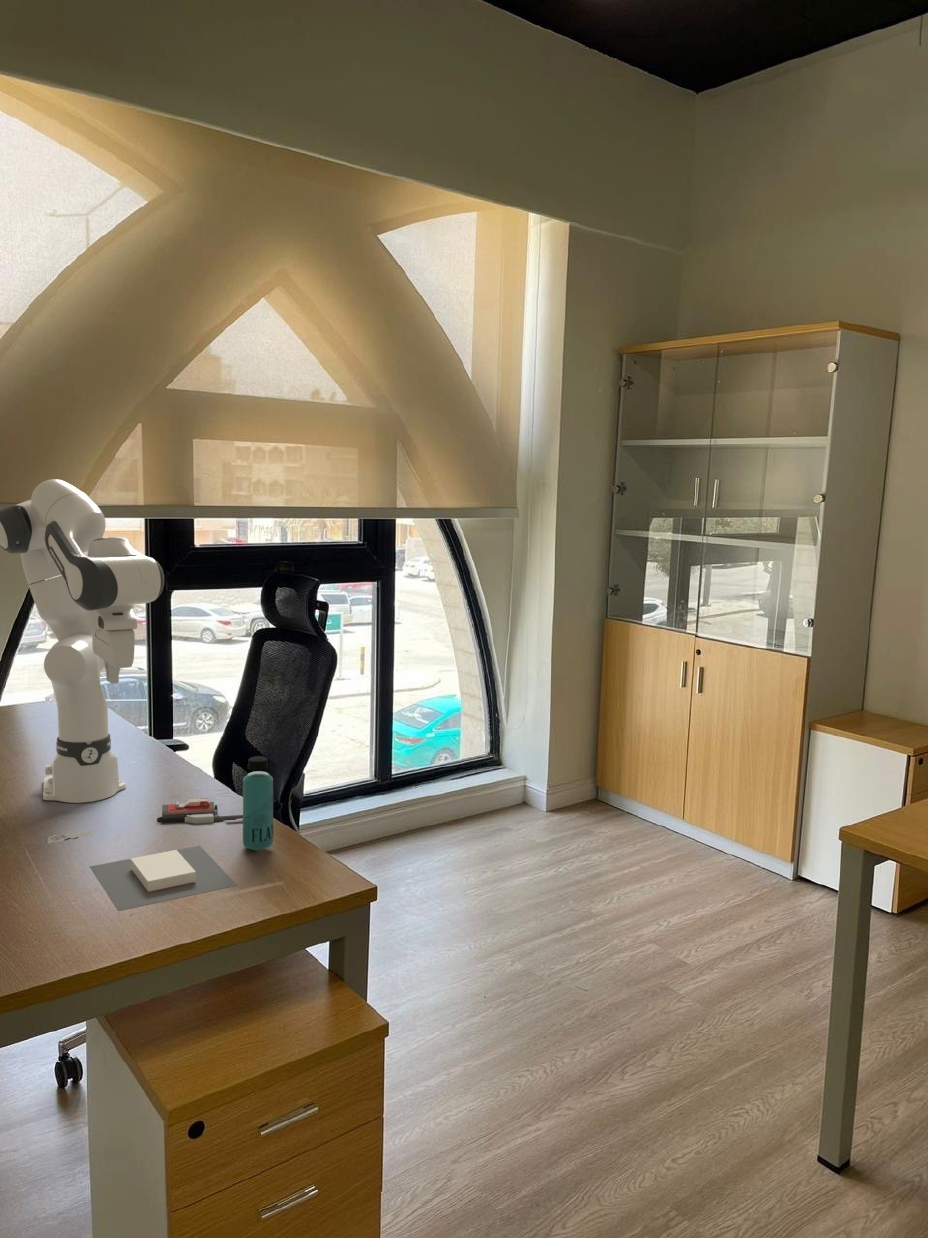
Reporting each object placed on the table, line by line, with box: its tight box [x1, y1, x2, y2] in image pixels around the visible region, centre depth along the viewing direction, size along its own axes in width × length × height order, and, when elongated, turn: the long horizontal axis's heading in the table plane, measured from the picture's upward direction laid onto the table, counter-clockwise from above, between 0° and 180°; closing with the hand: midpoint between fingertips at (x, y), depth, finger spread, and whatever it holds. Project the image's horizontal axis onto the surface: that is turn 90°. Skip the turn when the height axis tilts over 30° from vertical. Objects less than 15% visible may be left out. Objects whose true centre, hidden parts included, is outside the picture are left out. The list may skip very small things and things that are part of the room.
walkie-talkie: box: [156, 797, 243, 825], centre depth 219 cm, size 9×4×20 cm
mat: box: [89, 845, 238, 912], centre depth 187 cm, size 22×22×1 cm
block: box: [130, 849, 196, 892], centre depth 187 cm, size 2×9×12 cm
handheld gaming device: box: [47, 831, 94, 844], centre depth 201 cm, size 9×1×15 cm
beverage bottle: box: [242, 755, 275, 850], centre depth 201 cm, size 6×7×20 cm
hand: (112, 682), depth 200 cm, fingers closed
